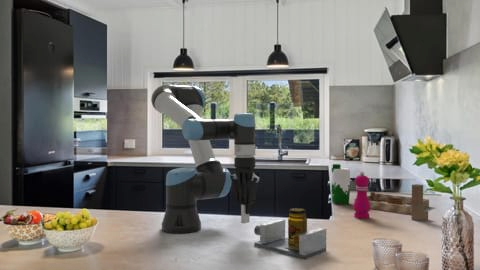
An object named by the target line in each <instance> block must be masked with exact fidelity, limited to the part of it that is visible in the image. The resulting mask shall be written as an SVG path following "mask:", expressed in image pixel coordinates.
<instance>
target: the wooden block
mask: <svg viewBox="0 0 480 270" xmlns="http://www.w3.org/2000/svg"><path fill="white" fill-rule="evenodd" d="M411 197H412V213H411V218H410V219H411V220H413V221H416V222H420V221H427V220H429V211H428V210H425V208H424V209H423V199H424V185H423V184H418V183H416V184H414V183H412V184H411Z"/></svg>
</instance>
